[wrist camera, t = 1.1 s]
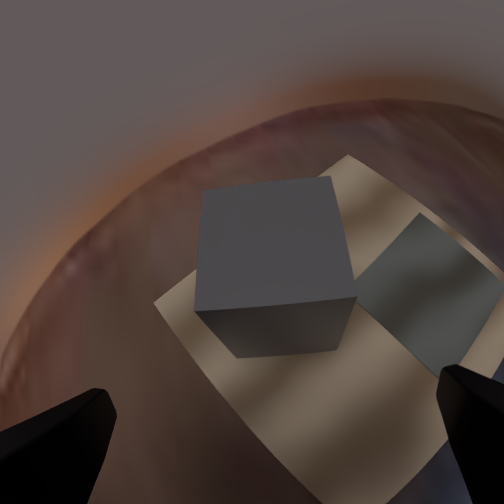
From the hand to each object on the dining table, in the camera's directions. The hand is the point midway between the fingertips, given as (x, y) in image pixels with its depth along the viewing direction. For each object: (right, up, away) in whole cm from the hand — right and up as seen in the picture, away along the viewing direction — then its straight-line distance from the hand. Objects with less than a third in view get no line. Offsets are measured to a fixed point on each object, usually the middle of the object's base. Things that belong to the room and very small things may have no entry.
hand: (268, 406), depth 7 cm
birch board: (+7, 0, +14) cm, 16 cm away
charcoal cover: (+2, 0, +15) cm, 15 cm away
